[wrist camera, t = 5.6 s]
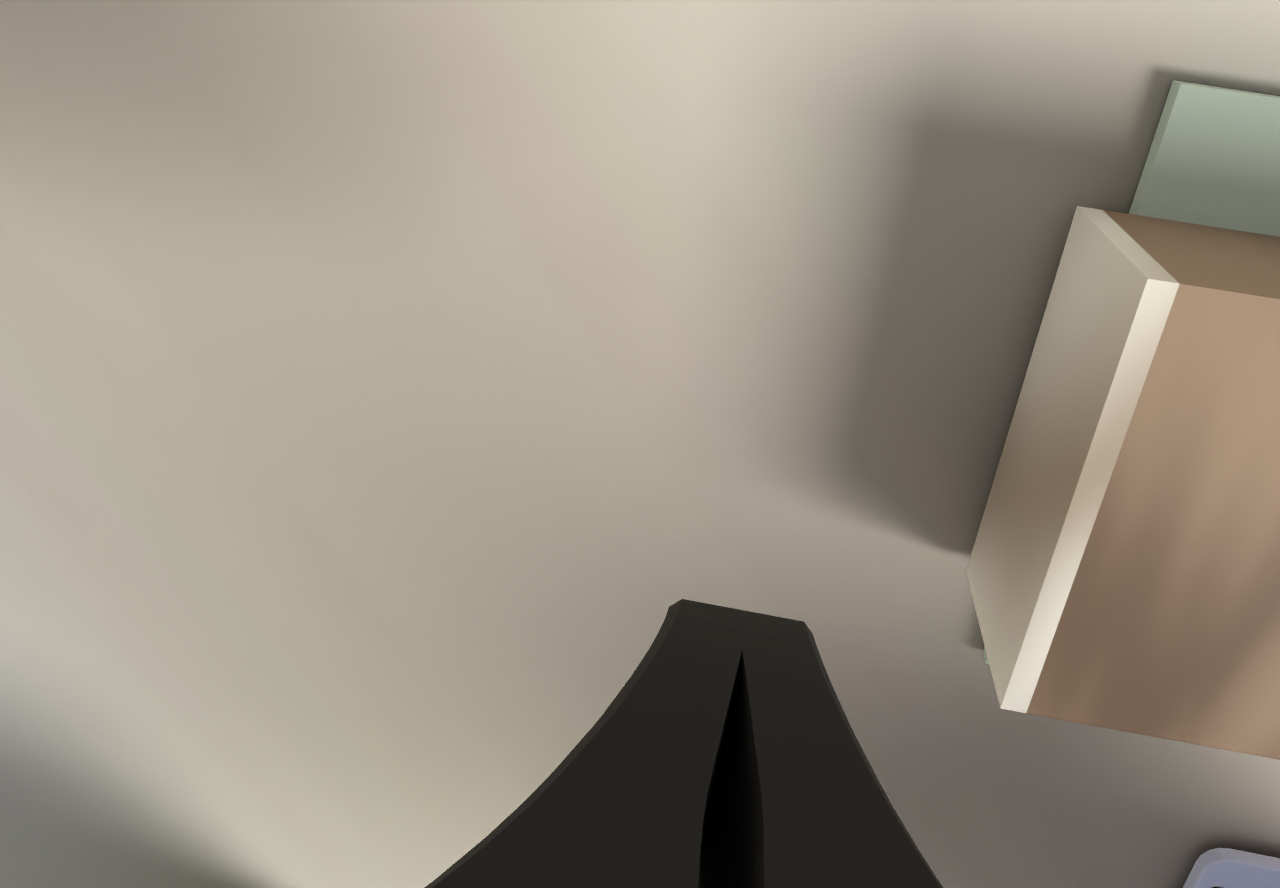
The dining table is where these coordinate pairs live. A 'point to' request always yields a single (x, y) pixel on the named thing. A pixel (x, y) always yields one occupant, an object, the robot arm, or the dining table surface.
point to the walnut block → (1144, 491)
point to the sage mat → (1214, 162)
